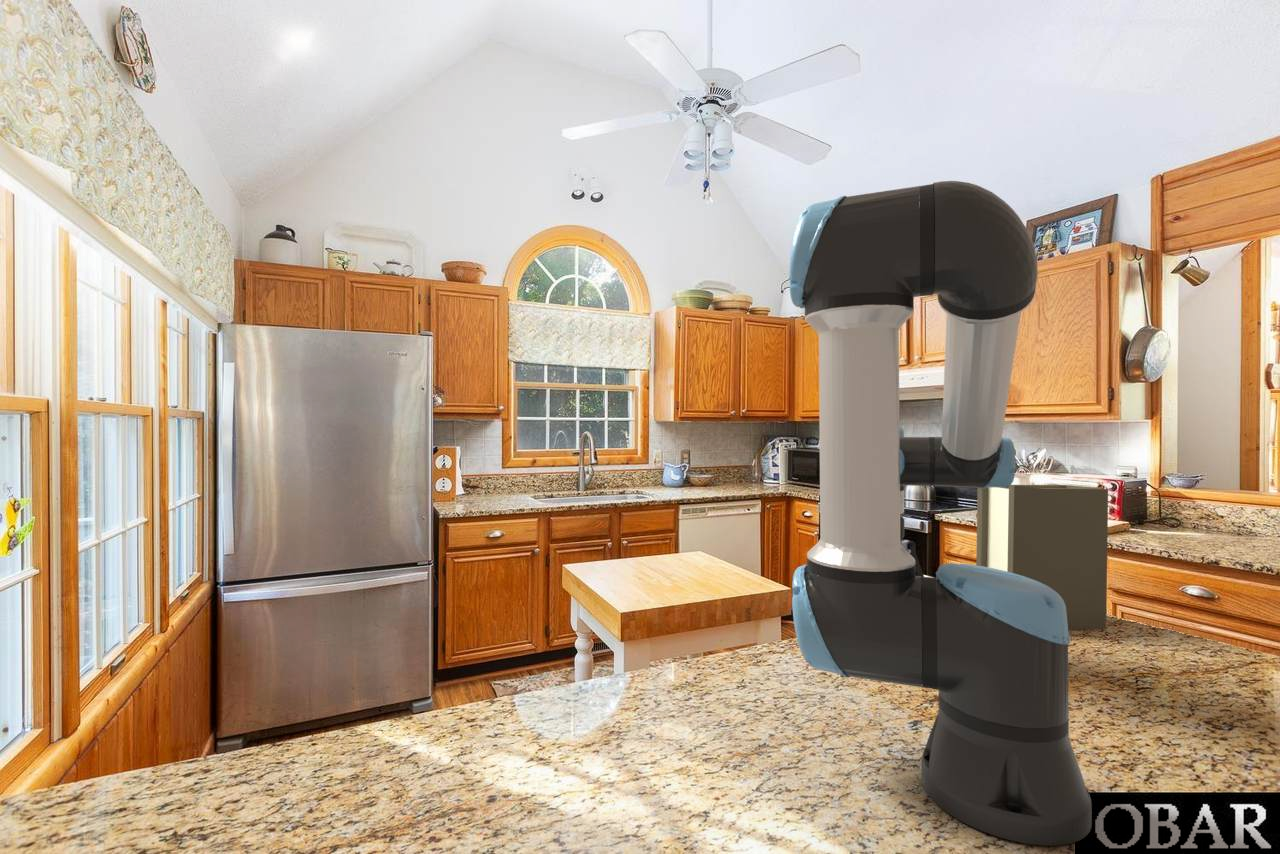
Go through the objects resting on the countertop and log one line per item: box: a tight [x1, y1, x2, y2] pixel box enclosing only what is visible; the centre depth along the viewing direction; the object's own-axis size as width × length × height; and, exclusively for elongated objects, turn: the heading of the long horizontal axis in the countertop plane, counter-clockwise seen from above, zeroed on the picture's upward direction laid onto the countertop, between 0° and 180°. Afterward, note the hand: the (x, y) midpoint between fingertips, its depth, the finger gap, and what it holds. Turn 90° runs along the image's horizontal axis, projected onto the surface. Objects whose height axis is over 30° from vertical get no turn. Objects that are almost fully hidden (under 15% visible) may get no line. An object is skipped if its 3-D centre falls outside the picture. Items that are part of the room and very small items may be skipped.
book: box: [975, 484, 1109, 631], centre depth 118 cm, size 22×9×28 cm, turn 100°
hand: (880, 638), depth 104 cm, fingers open, 12 cm apart
